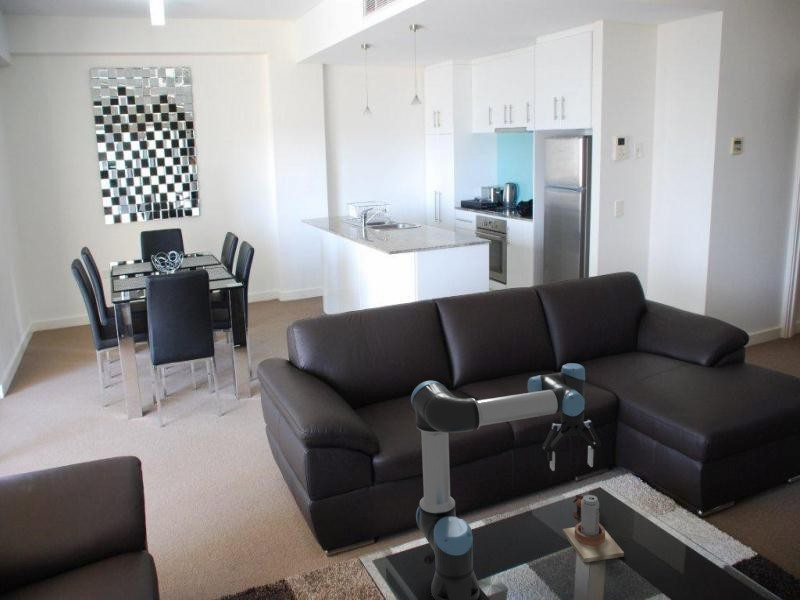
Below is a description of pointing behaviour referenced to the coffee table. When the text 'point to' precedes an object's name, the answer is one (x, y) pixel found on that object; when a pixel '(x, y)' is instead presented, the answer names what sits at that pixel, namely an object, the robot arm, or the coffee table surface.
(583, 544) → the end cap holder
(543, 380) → the robot arm
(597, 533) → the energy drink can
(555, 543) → the coffee table surface
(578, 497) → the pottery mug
